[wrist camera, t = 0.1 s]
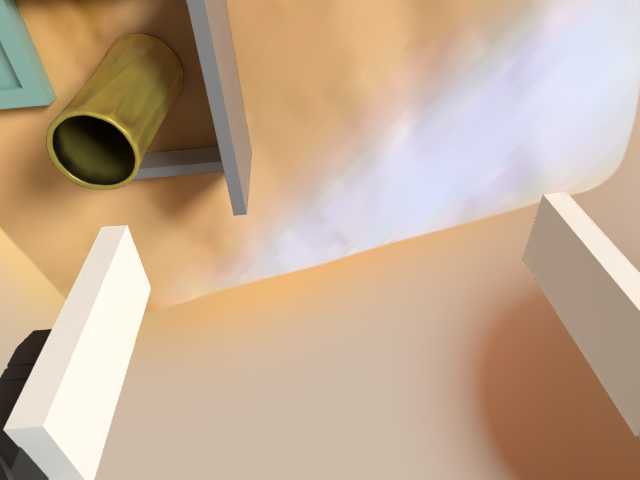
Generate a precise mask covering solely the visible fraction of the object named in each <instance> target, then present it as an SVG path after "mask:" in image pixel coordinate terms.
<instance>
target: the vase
mask: <svg viewBox="0 0 640 480" xmlns="http://www.w3.org/2000/svg"><path fill="white" fill-rule="evenodd" d="M182 86H183V69H182V66H181V64H180V62H179V60H178V58H177V56H176V55H175V53H174V52H173V51H172V49H171V48H170V47H168V46H167V45H166V44H165V43H164V42H162V41H161V40H159V39H157V38H155V37H153V36H150V35H146V34H138V33H136V34H130V35H126V36H123V37H120V38H119V39H117V40H116V41H115V42H114V43H113V44H112V45H111V47H110V48H109V50H108V53H107V55H106V56H105V58H104V60H103V62H102V63H101V65H100V66H99V67H98V69H97V70H96V72H95V73H94V74H93V76H92V77H91V78H90V80H89V81H88V82H87V83H86V85H85V86H84V87H83V88H82V89H81V90H80V92H79V93H78V94H77V95H76V96H75V97H74V99H73V100H72V101H71V102H70V103H69V104H68V105H67V107H66V108H65V109H64V110H63V111H62V112H61V113H60V115H59V116H58V117H57V118H55V120H54V121H53V122H52V123H51V124H50V126H49V128H48V131H47V138H46V147H47V150H48V153H49V156H50V158H51V160H52V161H53V163H54V165H55V166H56V167H57V168H58V170H59V171H60V172H61V173H62V174H64V175H65V176H66V177H67V178H69V179H70V180H71V181H73V182H75V183H77V184H79V185H81V186H83V187H86V188H90V189H97V190H111V189H116V188H120V187H123V186H125V185H126V184H128V183H129V182H130V181H132V179H133V178H134V177H135V176H136V174H137V172H138V170H139V168H140V165H141V163H142V161H143V159H144V156H145V154H146V152H147V150H148V148H149V146H150V144H151V143H152V141H153V139H154V137H155V135H156V133H157V131H158V129H159V127H160V126H161V124H162V122H163V121H164V119H165V117H166V115H167V114H168V112H169V110H170V108H171V106H172V104H173V103H174V101H175V99H176V98H177V97H178V95H179V94H180V92H181V89H182Z"/></svg>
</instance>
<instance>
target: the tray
mask: <svg viewBox="0 0 640 480" xmlns="http://www.w3.org/2000/svg"><path fill="white" fill-rule="evenodd" d="M55 99H56V95H55V93H54V91H53V88H52V86H51V84H50V81H49V79H48V77H47V74H46V72H45V70H44V68H43V65H42V63H41V61H40V58H39V56H38V54H37V51H36V49H35V47H34V44H33V42H32V40H31V38H30V35H29V33H28V31H27V28H26V26H25V24H24V21H23V19H22V17H21V14H20V12H19V10H18V8H17V5H16V3H15V1H14V0H0V109H9V108H20V107H31V106H42V105H50V104H51V103H52V102H53V101H54V100H55Z"/></svg>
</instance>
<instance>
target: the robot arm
mask: <svg viewBox="0 0 640 480" xmlns="http://www.w3.org/2000/svg"><path fill="white" fill-rule="evenodd" d="M523 261H524V262H525V264H526V265H527V267H528V268H529V270H530V272H531V273H532V275H533V276H534V278H535V280H536V281H537V283H538V284H539V286H540V287H541V289H542V291H543V292H544V294H545V295H546V297H547V298H548V300H549V302H550V303H551V305H552V306H553V308H554V309H555V311H556V312H557V314H558V316H559V317H560V319H561V320H562V322H563V324H564V325H565V327H566V328H567V330H568V331H569V333H570V335H571V336H572V337H573V339H574V340H575V342H576V344H577V345H578V347H579V349H580V350H581V352H582V353H583V355H584V356H585V358H586V360H587V361H588V363H589V364H590V366H591V367H592V369H593V371H594V372H595V374H596V375H597V377H598V378H599V380H600V382H601V383H602V385H603V386H604V388H605V389H606V391H607V393H608V394H609V396H610V397H611V399H612V400H613V402H614V404H615V405H616V407H617V408H618V410H619V411H620V413H621V414H622V416H623V418H624V419H625V421H626V422H627V424H628V425H629V427H630V428H631V430H632V432H633V433H634V435H635V436H636V437H638V436H640V273H639V272H638V271H637V270H636V269H635V267H634V266H633V265H632V264H631V263H630V262H629V261H628V260H627V259H626V258H625V256H624V255H623V254H622V253H621V252H620V251H619V250H618V249H617V248H616V247H615V245H614V244H613V243H612V242H611V241H610V240H609V239H608V238H607V237H606V236H605V234H604V233H603V232H602V231H601V230H600V229H599V228H598V227H597V226H596V225H595V223H594V222H593V221H592V220H591V219H590V218H589V217H588V216H587V215H586V213H584V211H583V210H582V209H581V208H580V207H579V206H578V205H577V204H576V203H575V201H574V200H573V199H572V198H571V197H570V196H569V195H568V194H567V192H564V193H550V194H543V195H542V199H541V202H540V205H539V208H538V211H537V215H536V218H535V221H534V224H533V227H532V230H531V233H530V237H529V240H528V243H527V246H526V249H525V253H524V256H523ZM150 290H151V287H150V285H149V282H148V279H147V277H146V274H145V271H144V269H143V266H142V263H141V261H140V258H139V255H138V253H137V250H136V247H135V245H134V242H133V239H132V237H131V234H130V231H129V229H128V226H127V225H120V226H107V227H102V228H101V230H100V232H99V234H98V236H97V238H96V240H95V242H94V244H93V246H92V249H91V251H90V253H89V255H88V257H87V259H86V261H85V263H84V265H83V267H82V269H81V271H80V273H79V275H78V277H77V279H76V281H75V283H74V285H73V288H72V290H71V292H70V294H69V296H68V298H67V300H66V302H65V304H64V306H63V308H62V311H61V312H60V314H59V317H58V318H57V321H56V322H55V325H54V327H53V329H48V330H36V331H33V332H32V333H31V334H30V335H29V336H28V337H27V338H26V339H25V340H24V341H23V342H22V343H21V344H20V345H19V346H18V347H17V348H16V350H15V352H14V354H13V356H12V358H11V359H10V362H9V363H8V365H7V366H8V368H7V369H5V371H4V373H3V374H2V376H1V378H0V480H94V478H95V475H96V471H97V468H98V465H99V461H100V458H101V454H102V451H103V447H104V445H105V441H106V438H107V434H108V431H109V428H110V424H111V421H112V417H113V414H114V411H115V407H116V404H117V401H118V397H119V394H120V391H121V387H122V384H123V381H124V377H125V374H126V371H127V367H128V364H129V361H130V357H131V354H132V351H133V347H134V344H135V340H136V337H137V334H138V330H139V327H140V324H141V320H142V317H143V314H144V310H145V307H146V304H147V300H148V297H149V293H150Z"/></svg>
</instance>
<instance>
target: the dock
mask: <svg viewBox="0 0 640 480" xmlns="http://www.w3.org/2000/svg"><path fill="white" fill-rule="evenodd" d="M187 5H188V10H189V14H190V19H191V23H192V28H193V32H194V37H195V41H196V46H197V50H198V55H199V59H200V64H201V69H202V73H203V78H204V82H205V87H206V91H207V96H208V100H209V105H210V109H211V114H212V118H213V123H214V127H215V132H216V137H217V141H218V146H216V147H205V148H194V149H183V150H172V151H161V152H150V153H146V154H145V156H144V159H143V161H142V163H141V165H140V168H139V170H138V172H137V174H136V176H135V177H134V178H133V179H132V180H136V179H147V178H158V177H169V176H180V175H190V174H201V173H212V172H223V171H224V173H225V177H226V182H227V186H228V191H229V196H230V200H231V205H232V209H233V214H234V215H245V214H247V206H248V193H249V181H250V169H251V157H252V151H251V145H250V139H249V134H248V128H247V122H246V116H245V110H244V105H243V99H242V93H241V87H240V81H239V76H238V70H237V64H236V58H235V52H234V47H233V41H232V35H231V29H230V23H229V18H228V12H227V6H226V0H187Z"/></svg>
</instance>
